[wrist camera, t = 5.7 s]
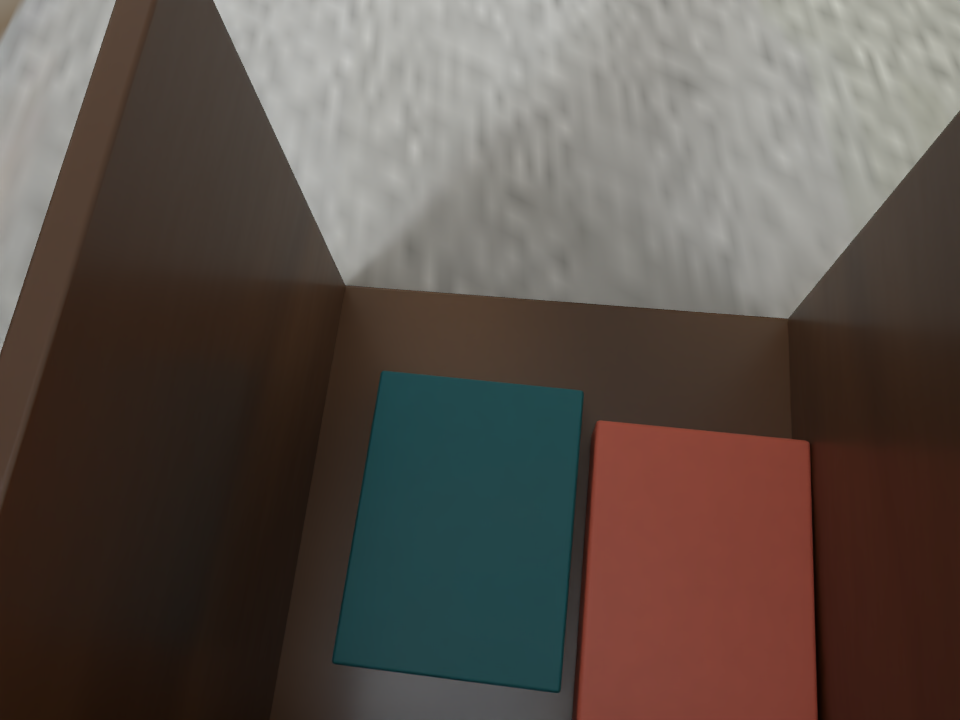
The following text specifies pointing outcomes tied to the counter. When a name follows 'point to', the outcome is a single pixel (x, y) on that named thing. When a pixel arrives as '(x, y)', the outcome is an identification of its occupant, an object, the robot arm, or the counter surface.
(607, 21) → the counter surface
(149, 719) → the brown wooden open box
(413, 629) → the packet teal
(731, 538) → the packet coral
